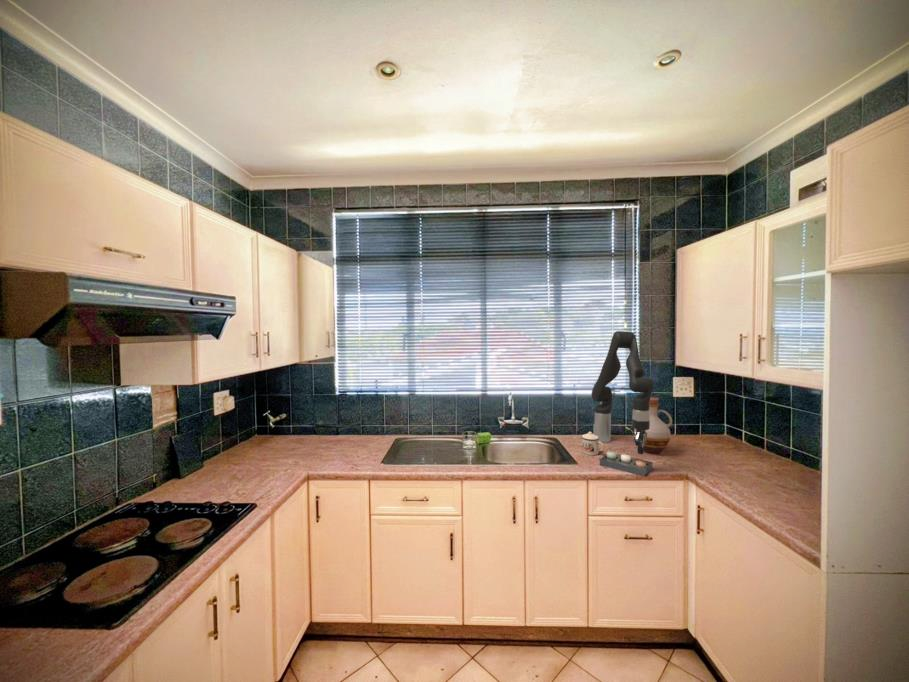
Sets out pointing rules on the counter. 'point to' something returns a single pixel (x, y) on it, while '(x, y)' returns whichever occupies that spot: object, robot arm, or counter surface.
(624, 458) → the ivory button
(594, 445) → the teacup with lid
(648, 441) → the jug
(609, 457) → the sage button
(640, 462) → the orange rounded piece
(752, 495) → the counter surface
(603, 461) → the panel
